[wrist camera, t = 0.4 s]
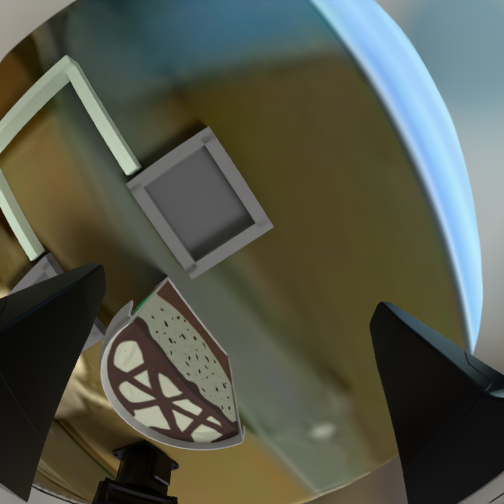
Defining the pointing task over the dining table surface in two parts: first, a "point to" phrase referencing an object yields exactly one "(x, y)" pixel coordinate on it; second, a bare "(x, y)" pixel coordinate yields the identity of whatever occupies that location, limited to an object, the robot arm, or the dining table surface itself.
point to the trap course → (147, 189)
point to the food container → (170, 374)
